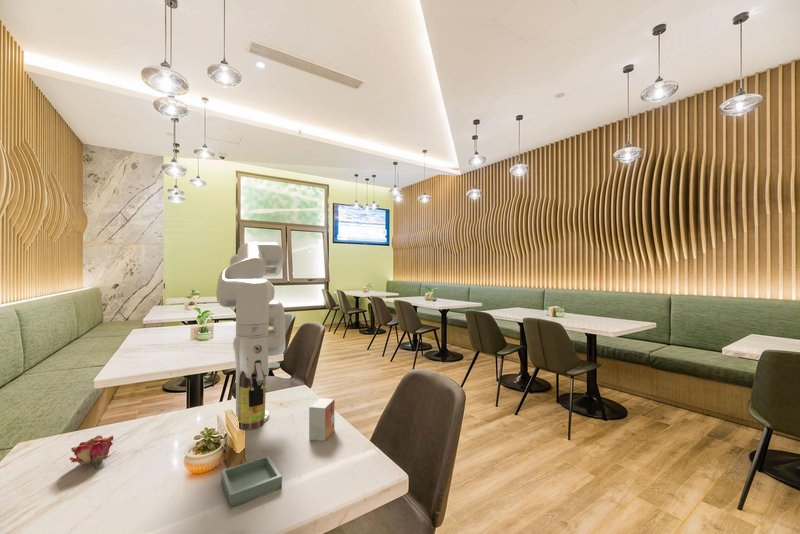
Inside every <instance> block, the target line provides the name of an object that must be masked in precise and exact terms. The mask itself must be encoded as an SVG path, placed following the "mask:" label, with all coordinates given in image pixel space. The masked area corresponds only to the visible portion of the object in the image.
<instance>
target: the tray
mask: <svg viewBox="0 0 800 534" xmlns="http://www.w3.org/2000/svg"><path fill="white" fill-rule="evenodd" d="M220 473H221V475H220V476H221V477H220V479H221V480H220V481H221V482H220V484H221V485H222V489H223V492H224V495H225V497H226V500H227V504H228V506H229V509H233V508H235V507H238V506H240V505H243V504H245V503H248V502H250V501H253V500H256V499H258V498H260V497H264V496H265V495H268V494H271V493H273V492H276V491H279V490H281V489H283V485H282V484H283V481H282V480H283V477H282V476H283V475H282V474H281V472H279V470H278V468H277V466H276V464H274V462H273V460H272V459H271V457H270V455H268V454H267V455H265V456H262V457H259V458H255V459H253V460H250V461H247V462H243V463H240V464H237V465H234V466H231V467H228V468H225V469H223V470H221V472H220Z"/></svg>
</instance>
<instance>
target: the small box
mask: <svg viewBox="0 0 800 534" xmlns="http://www.w3.org/2000/svg"><path fill="white" fill-rule="evenodd" d="M334 431H335V399H334V398H325V397H320V398H318V399H317V400H316V401H315V402H314V403H313V404H312V405H310V406H308V440H310V441H320V442H321V441H322V442H326V440H327V439H328V438H329V437H330V436H331V434H332V433H333V432H334Z"/></svg>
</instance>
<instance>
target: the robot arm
mask: <svg viewBox="0 0 800 534" xmlns="http://www.w3.org/2000/svg"><path fill="white" fill-rule="evenodd" d="M284 253H285V252H284V250H283V247H282V246H281V244H279V243H277V242H262V241H261V242H258V241H253V242H251V241H250V242H246V243H242V245H240V246H239V248H238V249H237V254H234V255H233V256H231V257H230V260H229V266H227V267H225V268H223V270H222V271H221V272H220V273H219V276H218V278H217V285H216V290H215V291H216V292H215V296H216V300H217V301H216V302H217V303H218V305H220V306H221V307H224V308H235V337H234V339H233V343H232V345H233V351H234V352H233V353H234V359H235V414H236V416H237V417H238V404H239V380H240V379H239V377H240V374H241V372H242V371H243V372H244V374H245V376H246V377H247V378H249V381H250V390H249V407H253V406H257V405H262V404H263V380H264V377H263V375H265V377H267V376H269V372H270V371H269V368H270V367H269V357H275V356H276V357H277V356H280V355H283V354H284V352H285V351H286V322H285V321H286V320H285V319H286V318H285V308H284V305H283V303H282V302H280V301H278V300H274V298H275V292H276V291H275V286H274V285H273V284H272V282H271V281H270V280H268V279H266V278H264V277H278V276H279V275H280V274H281V271H282V268H283V266H284V260H285V254H284ZM269 328H271V329H269ZM256 348H257V349H256ZM254 374H256V376H255V377H252V375H254ZM254 379H256V381H254V384H253V380H254ZM269 417H270V411H268V410H267V409H265V418H264V422H266V421H267V420H268V419H269Z"/></svg>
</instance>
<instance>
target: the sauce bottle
mask: <svg viewBox="0 0 800 534" xmlns="http://www.w3.org/2000/svg"><path fill="white" fill-rule="evenodd" d="M256 349H257V348H256ZM255 376H256V374H254V375H252V377H255ZM263 377H264V380H263V404H262V405H257V406H253V407H249V390H250V381H249V378H247V377H246V376H245V374H244V372H243V371H242V372H241V374H240V377H239V379H240V380H239V404H238V421H239V427H238V429H239V430H241V431H248V432H249V431H255V430H257V429H259V428H261V427H263V426H264V424H265V421H264V418H265V410H266V392H267V391H266V389H267V387H266V384H267V376H265V375H263ZM254 381H256V379H254V380H253V384H254Z"/></svg>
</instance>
